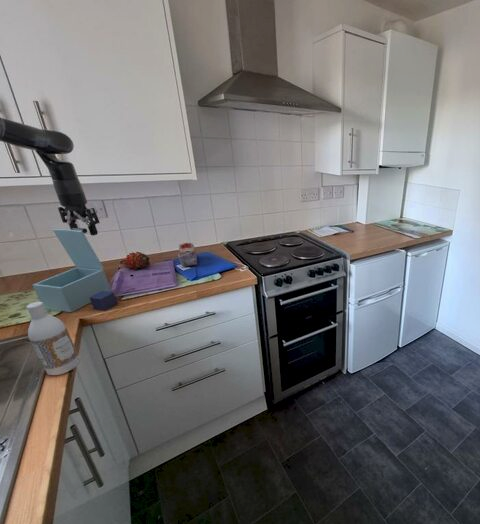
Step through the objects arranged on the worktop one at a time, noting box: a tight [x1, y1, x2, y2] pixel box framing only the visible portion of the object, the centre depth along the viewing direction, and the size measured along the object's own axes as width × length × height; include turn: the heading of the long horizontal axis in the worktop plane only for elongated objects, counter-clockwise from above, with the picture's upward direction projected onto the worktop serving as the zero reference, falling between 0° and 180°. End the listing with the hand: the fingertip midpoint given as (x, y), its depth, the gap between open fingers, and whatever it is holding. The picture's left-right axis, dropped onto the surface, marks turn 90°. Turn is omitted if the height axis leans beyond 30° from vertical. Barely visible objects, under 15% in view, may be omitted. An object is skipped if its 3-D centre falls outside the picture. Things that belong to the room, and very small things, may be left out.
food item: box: [177, 242, 198, 267], centre depth 146 cm, size 14×8×10 cm, turn 31°
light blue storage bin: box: [32, 266, 112, 313], centre depth 113 cm, size 16×13×10 cm
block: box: [89, 291, 119, 312], centre depth 110 cm, size 5×5×5 cm
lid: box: [52, 227, 104, 270], centre depth 115 cm, size 16×13×5 cm
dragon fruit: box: [119, 251, 150, 271], centre depth 141 cm, size 8×8×12 cm
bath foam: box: [26, 301, 81, 376], centre depth 78 cm, size 7×7×20 cm
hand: (85, 234), depth 115 cm, fingers open, 8 cm apart
